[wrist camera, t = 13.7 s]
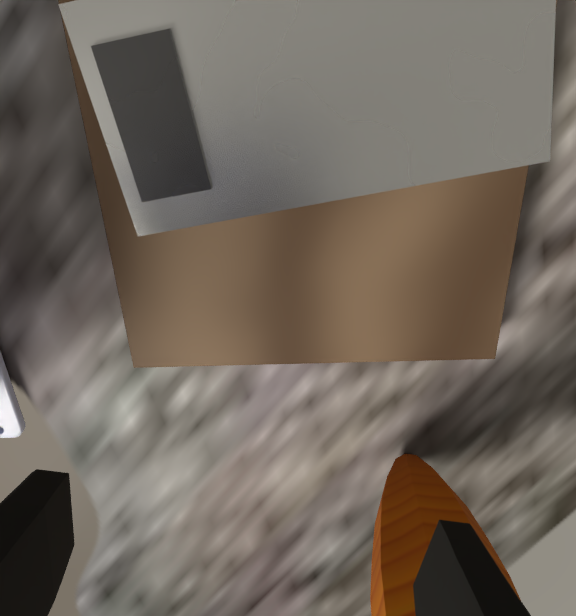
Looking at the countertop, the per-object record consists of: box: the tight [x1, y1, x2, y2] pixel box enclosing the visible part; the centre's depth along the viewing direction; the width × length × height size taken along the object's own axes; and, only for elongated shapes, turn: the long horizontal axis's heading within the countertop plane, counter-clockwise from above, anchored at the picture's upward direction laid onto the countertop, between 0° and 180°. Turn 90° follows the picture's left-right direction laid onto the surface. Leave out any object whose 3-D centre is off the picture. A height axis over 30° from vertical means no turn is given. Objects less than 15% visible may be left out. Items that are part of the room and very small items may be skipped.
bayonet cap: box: [58, 0, 556, 237], centre depth 11 cm, size 6×7×7 cm
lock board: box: [58, 0, 557, 368], centre depth 15 cm, size 13×20×2 cm, turn 2°
